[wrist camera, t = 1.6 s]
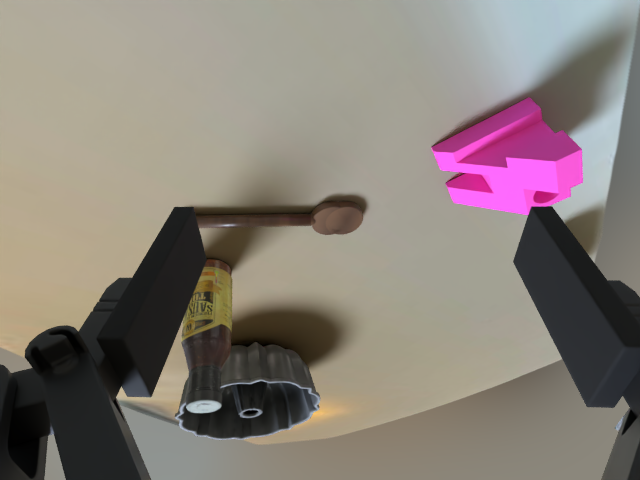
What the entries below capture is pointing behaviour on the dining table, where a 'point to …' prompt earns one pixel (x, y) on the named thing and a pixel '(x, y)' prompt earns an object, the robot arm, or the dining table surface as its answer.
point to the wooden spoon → (295, 219)
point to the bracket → (511, 161)
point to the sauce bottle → (208, 336)
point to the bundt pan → (256, 395)
